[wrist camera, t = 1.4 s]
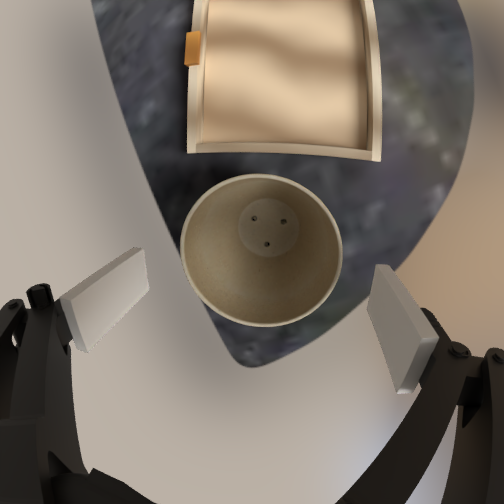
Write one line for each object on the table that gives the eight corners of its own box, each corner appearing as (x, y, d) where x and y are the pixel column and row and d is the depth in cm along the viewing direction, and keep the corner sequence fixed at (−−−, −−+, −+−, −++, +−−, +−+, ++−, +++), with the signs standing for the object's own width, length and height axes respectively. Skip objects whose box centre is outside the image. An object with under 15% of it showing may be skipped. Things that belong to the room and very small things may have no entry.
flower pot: (222, 284, 26) (198, 328, 19) (203, 176, 22) (165, 187, 16) (331, 277, 24) (342, 323, 17) (324, 161, 20) (337, 166, 14)
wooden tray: (206, -40, 14) (198, -54, 12) (357, -40, 12) (361, -54, 10) (195, 153, 22) (182, 153, 19) (372, 160, 20) (383, 162, 17)
